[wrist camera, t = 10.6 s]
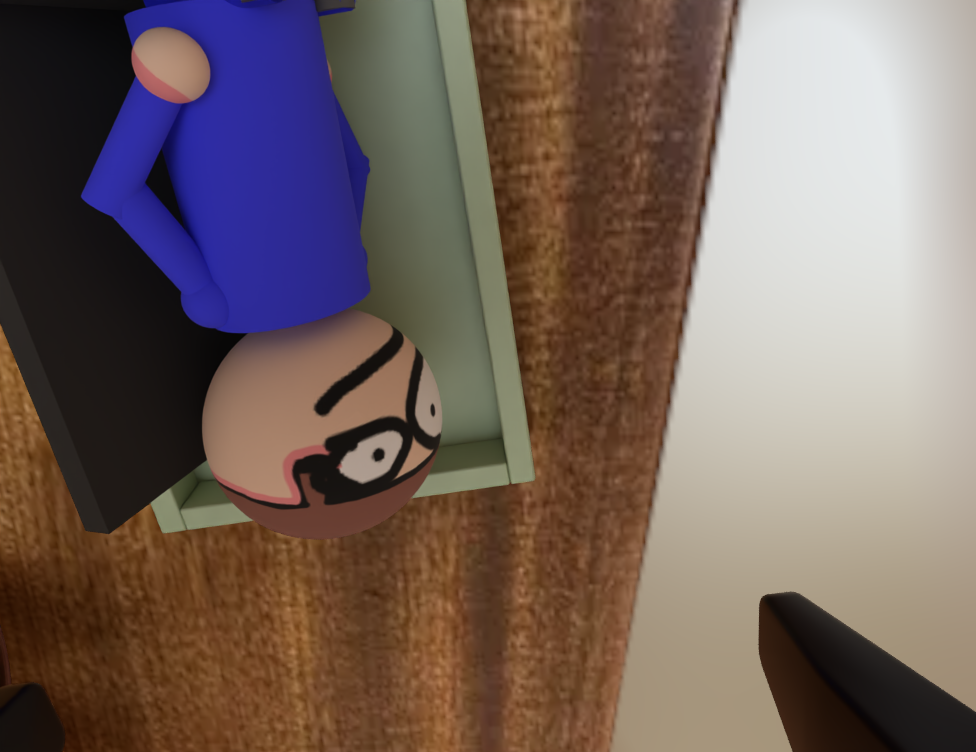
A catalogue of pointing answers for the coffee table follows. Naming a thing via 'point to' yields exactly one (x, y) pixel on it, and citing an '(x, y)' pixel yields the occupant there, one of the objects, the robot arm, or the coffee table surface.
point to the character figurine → (200, 265)
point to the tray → (420, 242)
